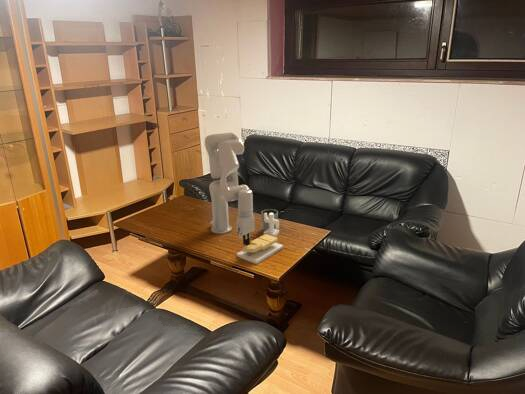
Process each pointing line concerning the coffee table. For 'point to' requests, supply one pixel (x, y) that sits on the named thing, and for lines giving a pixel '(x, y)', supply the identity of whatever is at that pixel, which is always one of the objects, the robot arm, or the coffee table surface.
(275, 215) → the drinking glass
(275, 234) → the figurine
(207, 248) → the coffee table surface
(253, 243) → the key
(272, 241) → the key
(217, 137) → the robot arm
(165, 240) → the coffee table surface
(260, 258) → the board
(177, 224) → the coffee table surface
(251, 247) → the key
